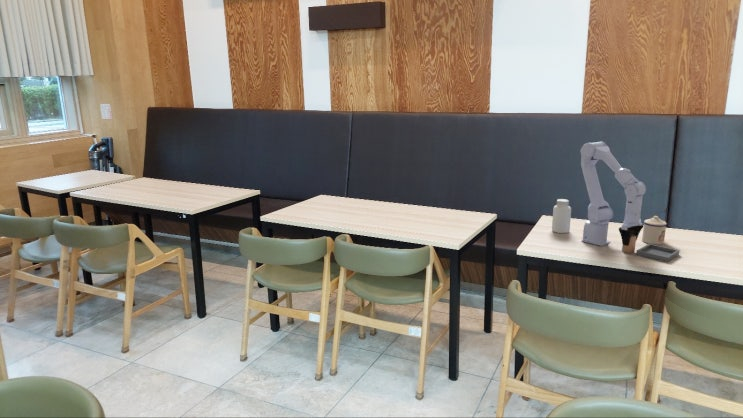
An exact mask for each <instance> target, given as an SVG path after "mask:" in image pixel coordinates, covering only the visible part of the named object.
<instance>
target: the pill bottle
mask: <svg viewBox="0 0 743 418" xmlns="http://www.w3.org/2000/svg"><path fill="white" fill-rule="evenodd" d="M571 216H572V207H571V206H570V200H568V199H565V198H557V200H556V204H555V205H554V206H553V210H552V220H551V221H552V222H551V224H552V225H551V231H552V232H553V233H556V232H557V233H558V234H568V233H569V232H570V231H571V230H570V229H571V218H572V217H571Z"/></svg>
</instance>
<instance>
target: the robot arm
mask: <svg viewBox="0 0 743 418" xmlns="http://www.w3.org/2000/svg"><path fill="white" fill-rule="evenodd" d="M579 152H580V156H581V157H580V158H581V159H580V166H581V170H582V174H583V178H584V182H585V186H586V190H587V195H588V197H589V202H590V203H589V205H588V206H587V219H588V220H586V221H585V223H584V225H583V229H582V231H583V234H582V239H581V242H584V243H587V244H592V245H596V246H601V247H603V246H605V245H608V244H609V243H611V241H610V240H608V231H609V224H610V221H611V220H612V219H613V217H614V211H613V209H612V208H611V206H610V204H609V202H608V201H606V200H605V199H604V198H605V197H604V195H603V192H602V187H601V184H600V180H599V175H598V172H597V166H596V164H597V162H598V161H599V160H600V161H602V162H604V163H605V164H606V165H607V166H608V167H609V168H610V169H611V170H612V171H613V172H614V178H615V179H616V180H617V182H618V183H619V184H620V185H621V186H622V187H623V189H624V190H623V192H624V195H625V197H626V202H625V210H624V218H623V219H624V220H623V223H622V224H621V227H619V228H618V231H619V234H620V237H621V243H622V245H626V246H628V245H629V242H630V238H631V236H632V235H635V236H636V241H637V240H638V238H639V235H640V233H641V231H642V230H643V228H644V224H643V222H642V219H641V214H642V204H643V196H644V195H645V194H646V192H647V186H646V184H645V183H644V182H643V181H640V180H639V179H638V178H636V177H635V176H634V175H633V173H631V169H628V168H627V167H622V166H621V164H620V163H619V162H618V160H617V159H616V157H615V156H614V155H613V154H612V152H611V150H610V147H609V146H608V145H607V144H606V142H604V141H597V142H586V143H584V144H583V145H582V146H581V148H580V150H579Z"/></svg>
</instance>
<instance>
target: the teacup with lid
mask: <svg viewBox="0 0 743 418" xmlns="http://www.w3.org/2000/svg"><path fill="white" fill-rule="evenodd" d="M667 225H668V223H667V222H666V221H665V220H662V219H661V218H659V216H657V215H654V216H653V217H651V218H649V219H647V218H646V219H645V220H643V228H642V230H643V231H642V236H641V241H642V242H644V243H646V244H647V245H648V244H653V245H657V246H660V245H663V244H664V242H665V236H666V229H667Z"/></svg>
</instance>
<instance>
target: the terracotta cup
mask: <svg viewBox="0 0 743 418" xmlns="http://www.w3.org/2000/svg"><path fill="white" fill-rule="evenodd" d="M636 243H637V240H636V236H635V235H632V236H631V238H630V242H629V245H628V246H626V245H623V244H622V245H621V246H622V247H621V252H622V253H624V254H630V255H632V254H635V252H636Z"/></svg>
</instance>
